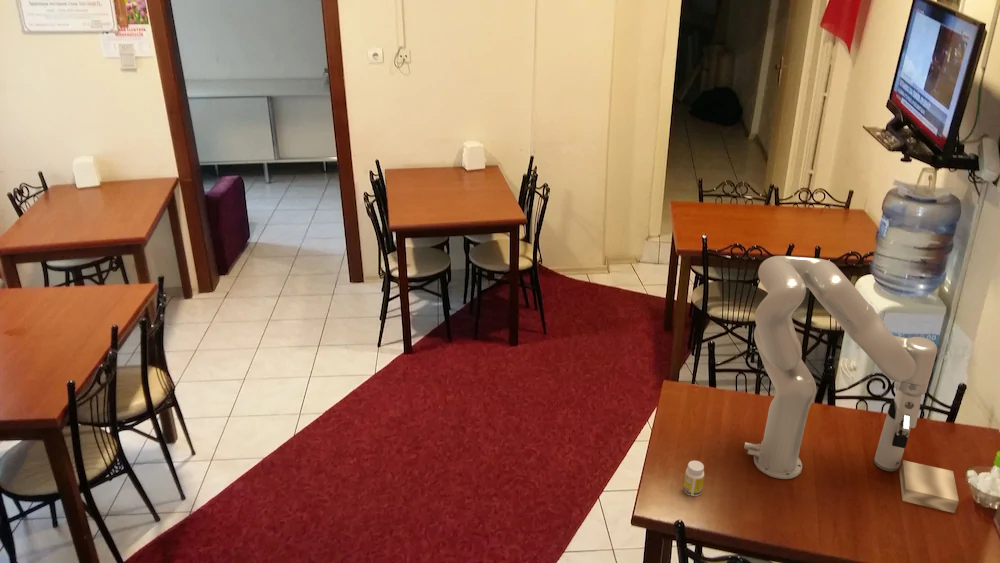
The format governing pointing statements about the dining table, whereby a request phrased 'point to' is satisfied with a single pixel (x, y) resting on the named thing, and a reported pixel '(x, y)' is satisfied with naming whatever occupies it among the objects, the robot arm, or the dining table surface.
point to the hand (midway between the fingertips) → (897, 435)
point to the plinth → (928, 486)
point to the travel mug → (889, 444)
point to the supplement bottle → (694, 478)
